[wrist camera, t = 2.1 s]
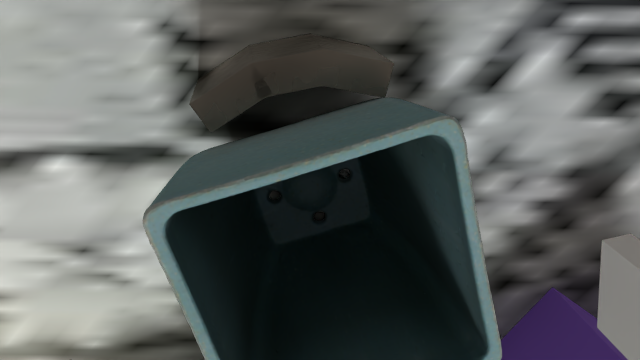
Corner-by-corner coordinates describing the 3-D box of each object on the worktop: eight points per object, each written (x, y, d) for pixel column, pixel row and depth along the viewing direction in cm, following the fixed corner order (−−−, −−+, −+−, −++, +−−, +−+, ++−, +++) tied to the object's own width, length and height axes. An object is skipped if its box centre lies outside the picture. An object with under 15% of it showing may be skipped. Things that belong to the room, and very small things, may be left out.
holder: (399, 281, 26) (424, 333, 23) (258, 312, 26) (261, 370, 22) (365, 22, 21) (390, 35, 18) (192, 55, 21) (181, 76, 17)
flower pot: (173, 118, 22) (132, 213, 14) (380, 55, 22) (462, 111, 14) (243, 290, 25) (243, 449, 17) (421, 235, 26) (506, 365, 17)
